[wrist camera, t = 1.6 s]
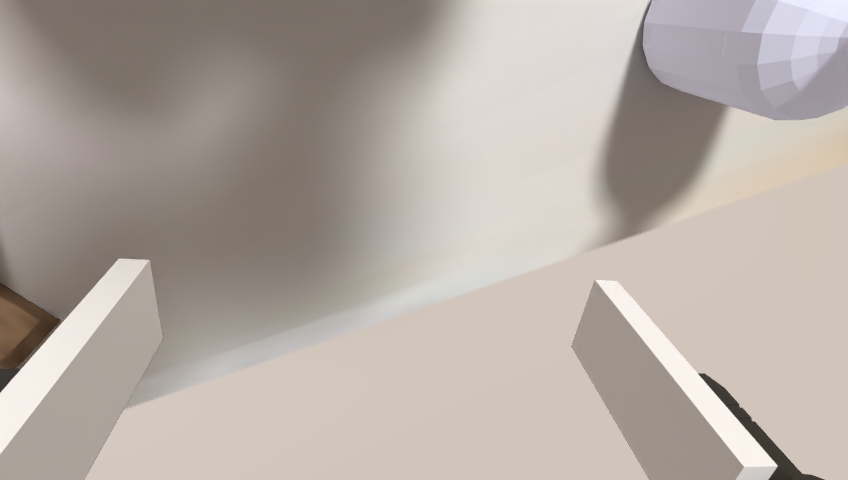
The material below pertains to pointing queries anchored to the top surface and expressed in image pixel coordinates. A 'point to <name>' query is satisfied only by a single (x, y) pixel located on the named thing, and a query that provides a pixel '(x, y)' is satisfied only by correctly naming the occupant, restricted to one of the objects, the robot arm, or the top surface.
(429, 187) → the top surface
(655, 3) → the soap bottle
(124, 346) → the robot arm
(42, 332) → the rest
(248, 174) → the top surface
